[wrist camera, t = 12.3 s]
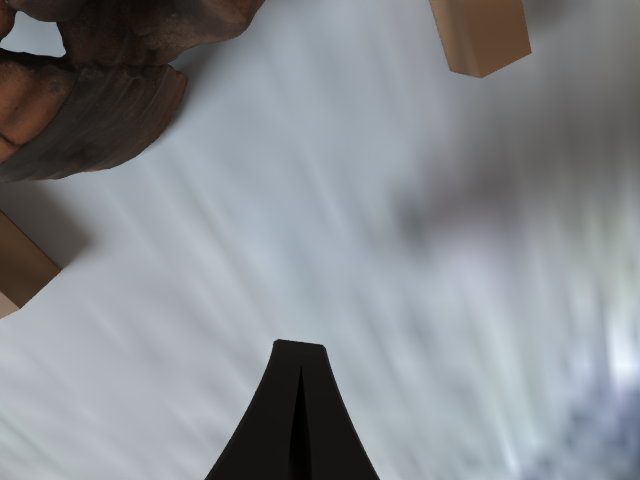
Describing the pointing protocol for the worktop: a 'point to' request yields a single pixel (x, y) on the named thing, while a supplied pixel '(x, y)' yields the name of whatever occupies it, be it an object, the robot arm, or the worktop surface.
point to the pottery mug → (100, 80)
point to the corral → (463, 57)
